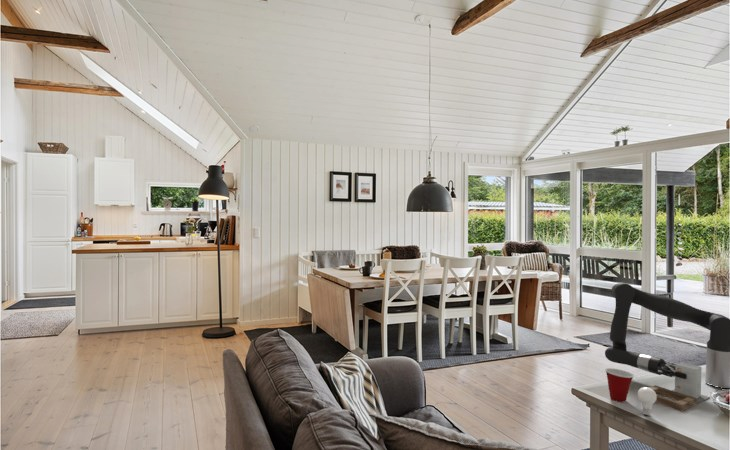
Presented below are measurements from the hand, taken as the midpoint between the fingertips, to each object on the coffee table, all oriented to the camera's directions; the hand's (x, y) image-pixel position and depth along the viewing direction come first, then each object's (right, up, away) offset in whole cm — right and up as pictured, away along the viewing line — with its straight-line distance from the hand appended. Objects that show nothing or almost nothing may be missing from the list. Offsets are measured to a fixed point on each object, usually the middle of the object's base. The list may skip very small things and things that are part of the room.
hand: (690, 375), depth 193 cm
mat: (-1, -9, +1) cm, 10 cm away
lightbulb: (-32, -9, -20) cm, 39 cm away
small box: (-1, -9, +1) cm, 9 cm away
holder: (-14, -9, -5) cm, 17 cm away
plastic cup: (-35, -9, -5) cm, 36 cm away
